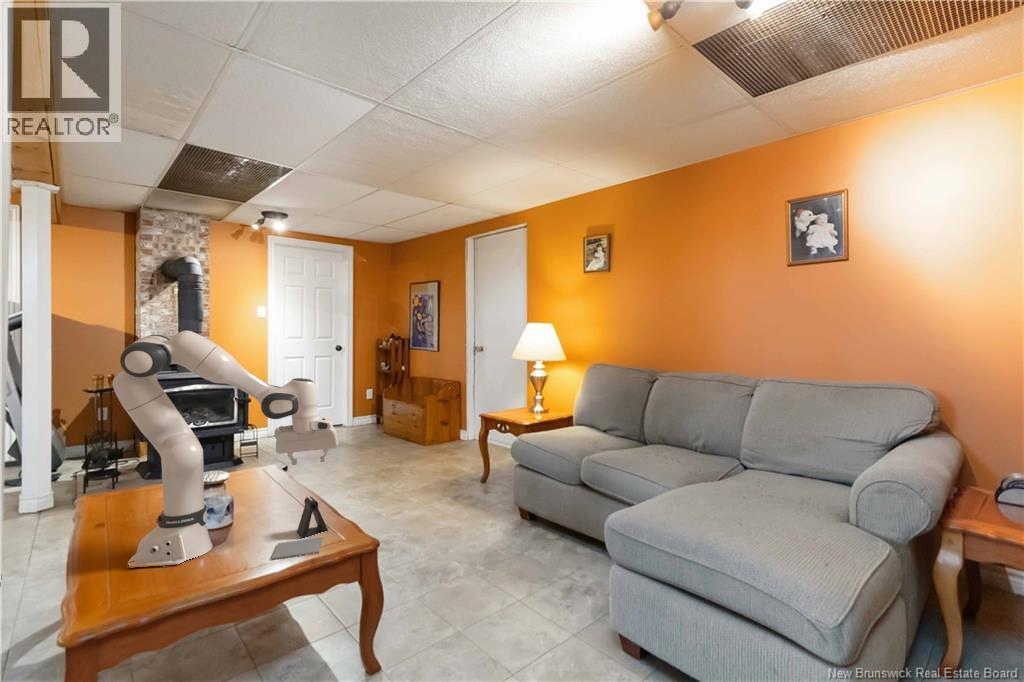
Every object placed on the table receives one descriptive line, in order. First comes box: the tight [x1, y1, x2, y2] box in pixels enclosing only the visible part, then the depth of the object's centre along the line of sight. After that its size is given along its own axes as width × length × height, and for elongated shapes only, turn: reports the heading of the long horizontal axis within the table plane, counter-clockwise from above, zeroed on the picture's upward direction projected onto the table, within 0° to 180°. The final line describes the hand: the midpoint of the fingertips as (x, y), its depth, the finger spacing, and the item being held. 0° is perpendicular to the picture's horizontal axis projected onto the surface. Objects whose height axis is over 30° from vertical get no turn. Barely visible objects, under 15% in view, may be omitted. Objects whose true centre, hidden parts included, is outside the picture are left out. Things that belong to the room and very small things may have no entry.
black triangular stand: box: [296, 496, 329, 539], centre depth 173 cm, size 9×6×12 cm, turn 129°
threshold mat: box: [270, 536, 323, 561], centre depth 161 cm, size 14×11×1 cm
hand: (308, 462), depth 172 cm, fingers open, 8 cm apart
